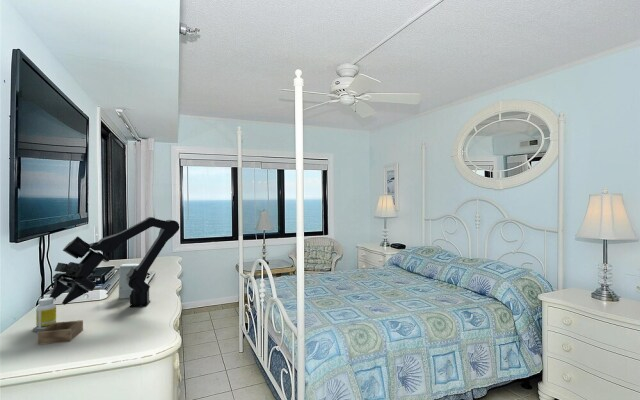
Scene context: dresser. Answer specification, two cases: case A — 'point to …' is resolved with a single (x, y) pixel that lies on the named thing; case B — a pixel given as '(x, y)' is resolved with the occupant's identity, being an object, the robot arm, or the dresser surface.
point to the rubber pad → (37, 329)
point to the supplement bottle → (45, 313)
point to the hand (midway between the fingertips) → (56, 302)
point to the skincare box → (123, 286)
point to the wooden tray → (60, 332)
